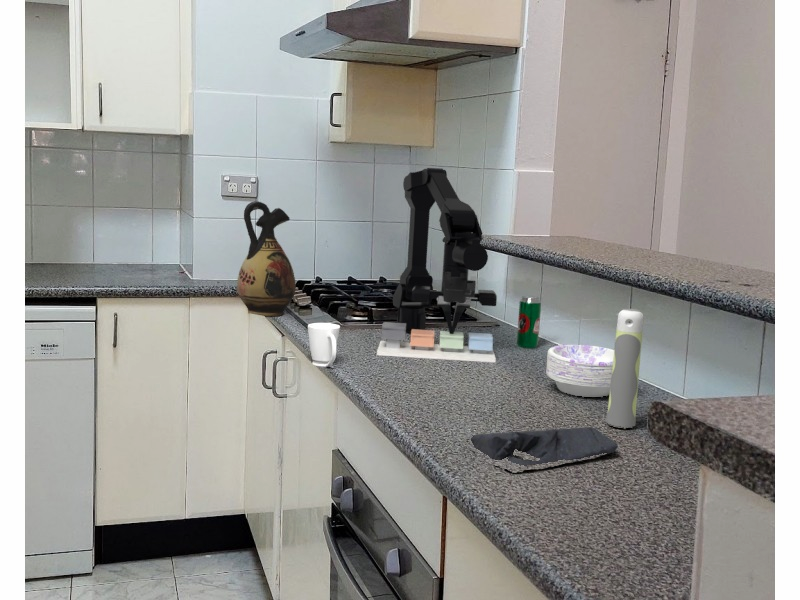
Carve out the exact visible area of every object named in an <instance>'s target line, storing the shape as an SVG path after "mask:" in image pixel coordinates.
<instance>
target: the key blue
mask: <svg viewBox="0 0 800 600" xmlns="http://www.w3.org/2000/svg"><path fill="white" fill-rule="evenodd" d="M467 341H468V342H467V346H468V348H469V349H472V350H488V351H492V348H493V345H494V337H493V334H492V333H484V332H483V333H481V332H468V340H467Z"/></svg>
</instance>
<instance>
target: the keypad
mask: <svg viewBox="0 0 800 600" xmlns="http://www.w3.org/2000/svg"><path fill="white" fill-rule="evenodd" d="M439 347H440V343H434V347H422V346H410V342H404V341H401V340H397V339H386V340H380V342H379V344H378V347H377V350H376V356H384V357H398V358H399V357H400V358H416V359H418V358H419V359H431V360H432V359H435V360H447V361H449V360H450V361H463V362H482V363H496V361H497V358H496V355H495V352H494V349H493V348H494V347H492V351H488V350H472V349H469V348H468V345H463V349H455V348H439Z"/></svg>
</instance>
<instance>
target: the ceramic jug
mask: <svg viewBox="0 0 800 600" xmlns="http://www.w3.org/2000/svg"><path fill="white" fill-rule="evenodd" d="M255 210H260V211H262V213H263V214H262V215H261V216H259V218H258V220H257V221H255V222H256V223H255V225H256V226H257V227H259V228H261V232H260V233H259V236H258V237H257V234H256V232H255V230H254V226H253V223H252V216H251V214H252V212H253V211H255ZM290 220H291V219H290V217H289V215H288V214H287V213H286V212H285V210H283V209H281V208H280V207H277V208H274V209H273V210H272V211H270V208H269V207H268V205H267V204H265V203H264V202H262V201H258V200H257V201H256V200H254V201H251V202H249V203H248V204H247V205H246V206H245V208H244V211H243V221H244V223H245V227H246V229H247V235H248V236H249V241H250V244H249V248H248V253H247V254H246V257H245V259H244V260H243V262H242V264H241V266H240V269H239V273H238V276H237V284H236V287H237V288H236V289H237V293H238V296H239V299H240V300H241V301H242V302H243V304H244V305H245V307H246V308H247V314H250V315H251V314H252V315H257V316H262V317H280V316H281V317H282V316H283V315H284V314H285V313H284V312H285V311H286V309H287V306H289V304H290V303H291V301H292V300H293V299H294V295H295V294H296V287H297V284H296V277H295V272H294V269H293V266H292V264H291V261H290V259H289V257H288V255H287V254H286V252H285V250H284V249H283V247H282V246H281V244H280V243H279V241H278V239H277V238H276V237H275V236H276V235H275V228H277V226H279V225H282V224H284V223H286V222H289V221H290Z"/></svg>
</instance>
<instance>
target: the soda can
mask: <svg viewBox="0 0 800 600" xmlns="http://www.w3.org/2000/svg"><path fill="white" fill-rule="evenodd" d="M518 306H519V308H518V320H517V330H516V331H517V334H516V345H517V347H519V348H521V349H528V350H529V349H531V350H532V349H536V348H537V347H538V345H539V337H540V336H539V335H540V322H541V321H540V320H541V311H542V309H541V308H542V301H541V298H540V297H539V296H532V295H523V296H521V299H520V300H519V305H518Z"/></svg>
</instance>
